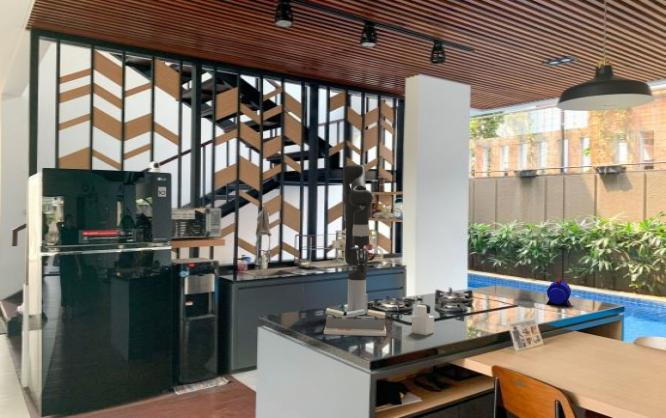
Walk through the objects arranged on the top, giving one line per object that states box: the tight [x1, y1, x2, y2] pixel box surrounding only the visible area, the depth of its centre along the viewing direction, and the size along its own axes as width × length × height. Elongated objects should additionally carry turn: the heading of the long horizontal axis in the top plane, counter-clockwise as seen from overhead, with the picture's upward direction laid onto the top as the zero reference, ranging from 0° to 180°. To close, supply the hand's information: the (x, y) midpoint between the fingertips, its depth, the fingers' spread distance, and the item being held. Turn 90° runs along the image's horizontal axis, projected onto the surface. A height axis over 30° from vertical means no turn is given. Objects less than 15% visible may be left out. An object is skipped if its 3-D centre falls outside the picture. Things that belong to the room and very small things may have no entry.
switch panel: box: [323, 314, 387, 337], centre depth 221 cm, size 26×13×6 cm, turn 86°
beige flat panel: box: [366, 309, 386, 319], centre depth 222 cm, size 8×5×2 cm, turn 86°
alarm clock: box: [546, 277, 572, 308], centre depth 296 cm, size 12×12×15 cm
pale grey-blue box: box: [345, 309, 365, 318], centre depth 223 cm, size 8×5×2 cm, turn 87°
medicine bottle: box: [411, 303, 435, 336], centre depth 221 cm, size 7×7×12 cm
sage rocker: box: [325, 307, 345, 317], centre depth 223 cm, size 8×5×2 cm, turn 86°
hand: (361, 273), depth 231 cm, fingers closed
